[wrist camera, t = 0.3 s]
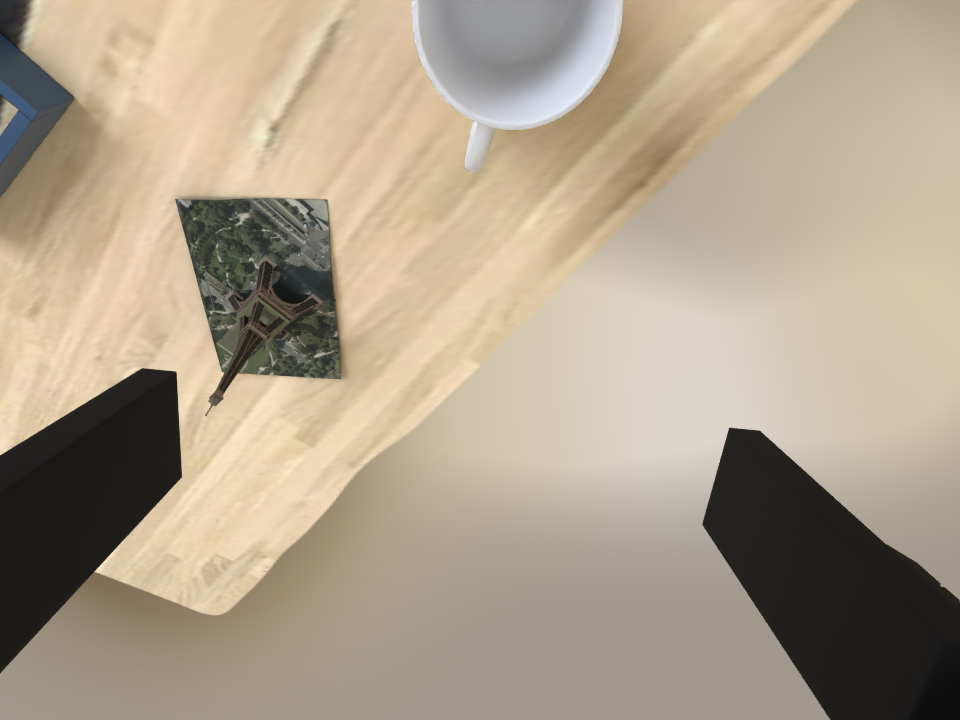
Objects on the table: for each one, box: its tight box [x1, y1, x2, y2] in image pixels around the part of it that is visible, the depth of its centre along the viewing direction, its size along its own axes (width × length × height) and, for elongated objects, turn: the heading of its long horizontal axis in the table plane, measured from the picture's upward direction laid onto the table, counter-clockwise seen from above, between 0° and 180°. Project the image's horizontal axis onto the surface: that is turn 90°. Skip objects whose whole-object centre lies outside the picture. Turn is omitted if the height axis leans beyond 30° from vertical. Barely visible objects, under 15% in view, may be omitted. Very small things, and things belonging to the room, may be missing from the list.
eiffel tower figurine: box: [175, 198, 341, 416], centre depth 38 cm, size 15×10×13 cm
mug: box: [412, 0, 623, 173], centre depth 28 cm, size 12×8×12 cm
